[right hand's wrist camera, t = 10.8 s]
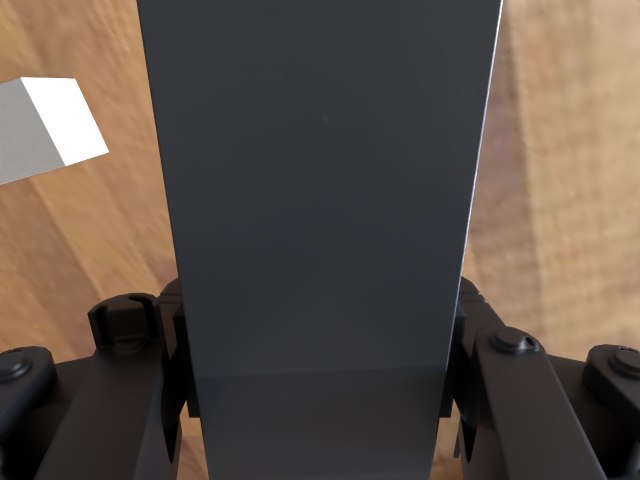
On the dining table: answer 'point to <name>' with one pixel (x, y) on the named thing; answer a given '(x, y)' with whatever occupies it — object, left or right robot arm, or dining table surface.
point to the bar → (319, 220)
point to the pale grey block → (44, 127)
